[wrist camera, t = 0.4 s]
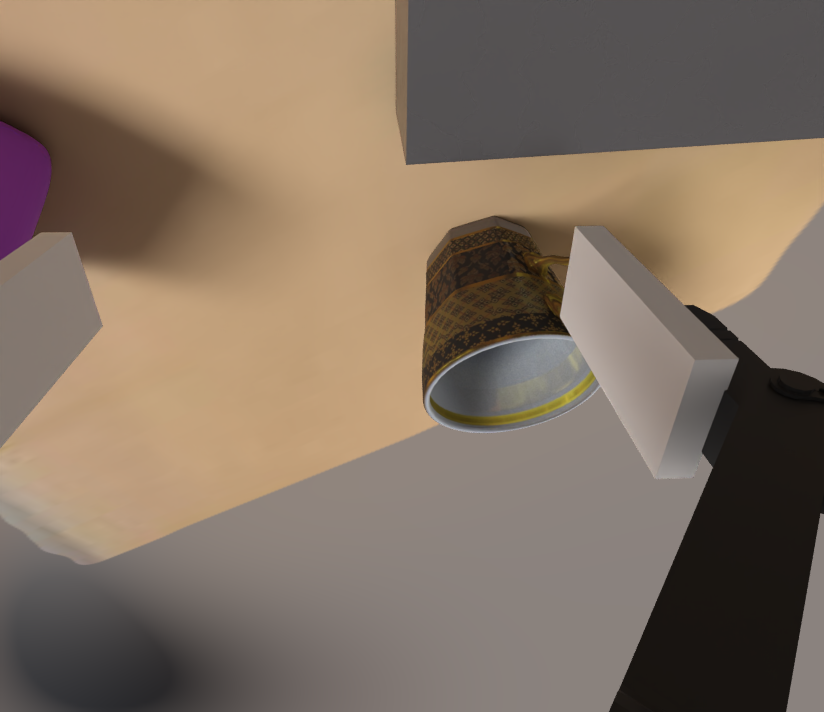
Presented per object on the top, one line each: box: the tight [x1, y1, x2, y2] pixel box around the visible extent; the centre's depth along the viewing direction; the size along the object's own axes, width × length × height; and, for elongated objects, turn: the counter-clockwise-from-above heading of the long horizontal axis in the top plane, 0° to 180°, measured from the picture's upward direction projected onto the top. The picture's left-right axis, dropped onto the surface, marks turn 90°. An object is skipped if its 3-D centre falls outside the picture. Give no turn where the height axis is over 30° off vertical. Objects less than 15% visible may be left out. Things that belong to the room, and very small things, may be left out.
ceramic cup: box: [422, 216, 600, 433], centre depth 32 cm, size 13×10×10 cm
